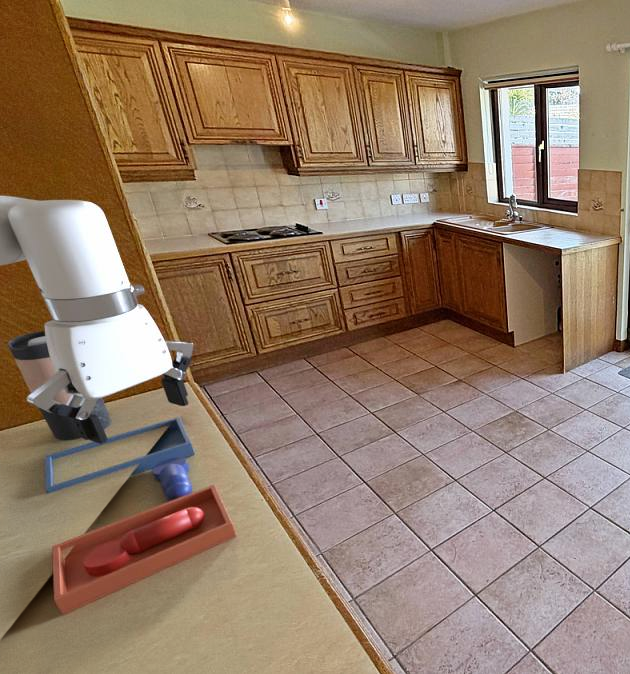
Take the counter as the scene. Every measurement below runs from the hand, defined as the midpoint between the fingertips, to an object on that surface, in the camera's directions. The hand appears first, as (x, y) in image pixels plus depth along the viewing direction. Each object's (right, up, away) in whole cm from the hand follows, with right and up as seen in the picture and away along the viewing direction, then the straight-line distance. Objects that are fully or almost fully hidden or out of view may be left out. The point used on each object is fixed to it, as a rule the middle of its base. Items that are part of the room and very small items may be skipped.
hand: (140, 420), depth 65 cm
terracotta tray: (+1, -18, 0) cm, 18 cm away
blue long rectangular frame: (-18, -10, +16) cm, 26 cm away
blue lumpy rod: (-5, -13, +11) cm, 18 cm away
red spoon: (+1, -17, 0) cm, 17 cm away
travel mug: (-31, -7, +22) cm, 39 cm away
